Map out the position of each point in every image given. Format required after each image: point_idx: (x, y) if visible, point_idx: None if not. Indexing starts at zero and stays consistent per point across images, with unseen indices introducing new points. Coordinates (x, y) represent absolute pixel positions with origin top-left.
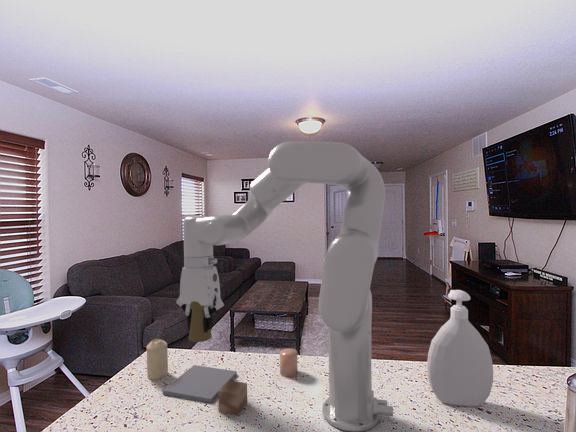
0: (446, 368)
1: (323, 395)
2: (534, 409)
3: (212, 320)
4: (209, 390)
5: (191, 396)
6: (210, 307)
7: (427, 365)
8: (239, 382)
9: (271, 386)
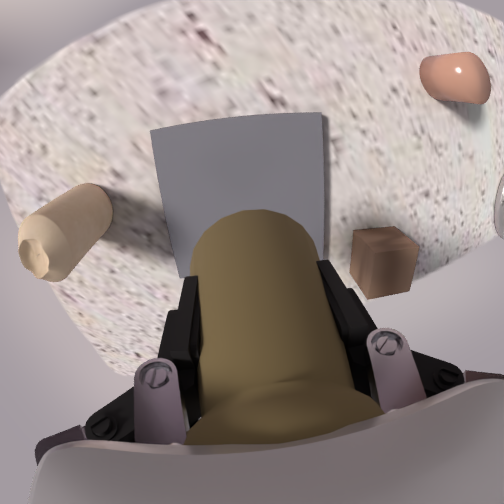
0: None
1: (495, 160)
2: None
3: (367, 313)
4: None
5: None
6: (394, 398)
7: None
8: (403, 251)
9: (422, 148)
